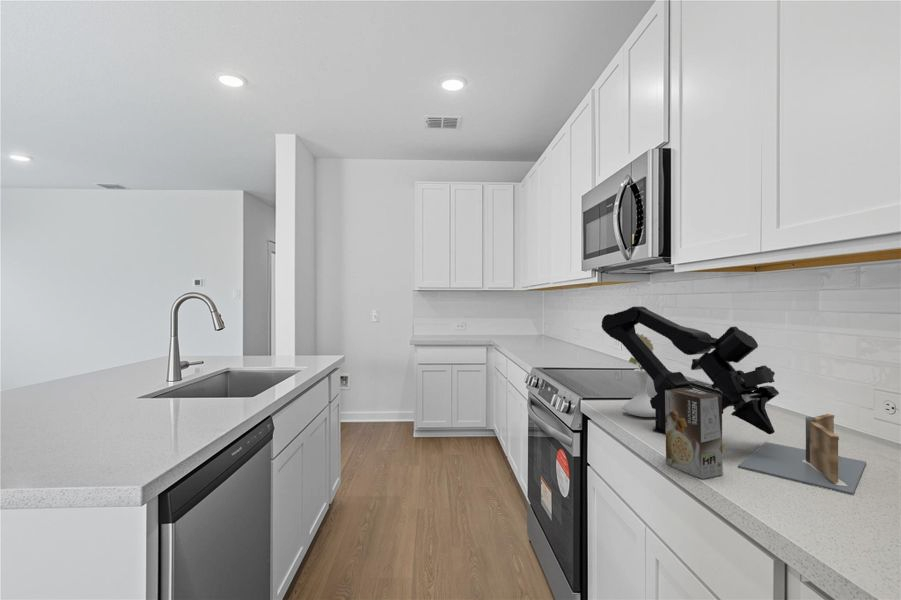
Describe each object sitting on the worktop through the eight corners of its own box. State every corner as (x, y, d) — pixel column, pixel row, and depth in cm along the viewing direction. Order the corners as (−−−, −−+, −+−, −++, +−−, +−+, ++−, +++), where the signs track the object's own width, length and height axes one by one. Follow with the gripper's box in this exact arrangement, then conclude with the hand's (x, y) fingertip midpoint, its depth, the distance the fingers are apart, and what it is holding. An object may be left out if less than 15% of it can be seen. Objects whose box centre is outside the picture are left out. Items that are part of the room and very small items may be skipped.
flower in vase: (671, 419, 130) (670, 335, 130) (633, 420, 129) (633, 335, 129) (648, 409, 143) (648, 331, 143) (614, 409, 142) (613, 332, 142)
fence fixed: (804, 463, 95) (804, 417, 95) (826, 456, 100) (826, 411, 100) (813, 466, 94) (813, 418, 94) (835, 458, 98) (835, 413, 98)
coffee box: (724, 475, 89) (724, 395, 89) (701, 480, 87) (701, 398, 87) (685, 460, 97) (685, 387, 97) (663, 463, 95) (663, 389, 95)
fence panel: (809, 462, 94) (809, 421, 94) (816, 462, 93) (816, 422, 93) (831, 481, 84) (830, 436, 84) (838, 482, 83) (838, 436, 83)
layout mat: (737, 467, 93) (737, 465, 93) (765, 443, 108) (765, 441, 108) (853, 495, 80) (853, 492, 80) (866, 463, 95) (866, 461, 95)
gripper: (723, 356, 97) (779, 419, 87) (770, 351, 105) (825, 408, 96) (689, 385, 104) (736, 446, 94) (735, 378, 113) (783, 434, 103)
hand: (772, 433), depth 97 cm, fingers closed
